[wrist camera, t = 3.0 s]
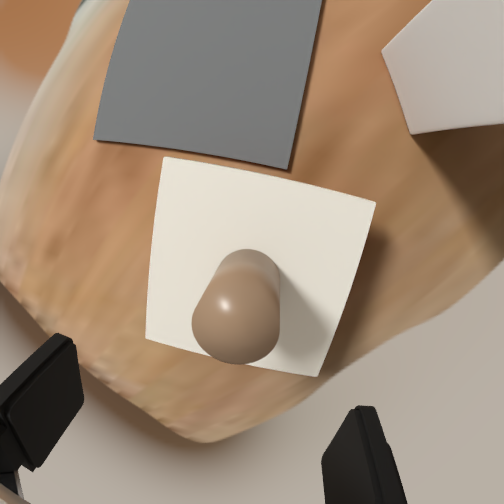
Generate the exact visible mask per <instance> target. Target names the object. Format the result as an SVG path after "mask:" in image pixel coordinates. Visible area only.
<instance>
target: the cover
mask: <svg viewBox="0 0 504 504" xmlns="http://www.w3.org/2000/svg"><path fill="white" fill-rule="evenodd" d="M375 205H376V202H374V201H371V200H367V199H364V198H360V197H357V196H353V195H349V194H345V193H342V192H338V191H334V190H330V189H326V188H322V187H318V186H314V185H310V184H306V183H302V182H297V181H293V180H289V179H284V178H280V177H275V176H271V175H266V174H261V173H257V172H252V171H247V170H242V169H237V168H231V167H226V166H221V165H215V164H210V163H204V162H198V161H192V160H186V159H180V158H173V157H164V159H163V165H162V171H161V177H160V184H159V190H158V197H157V205H156V212H155V220H154V229H153V237H152V247H151V257H150V269H149V281H148V296H147V314H146V339H150V340H153V341H156V342H160V343H163V344H167V345H170V346H174V347H177V348H181V349H185V350H188V351H192V352H196V353H200V354H204V355H208V356H212V357H213V358H215V359H217V360H220V361H222V362H225V363H230V364H247V365H252V366H257V367H262V368H267V369H272V370H277V371H283V372H289V373H294V374H301V375H307V376H313V377H317V376H318V374H319V371H320V369H321V367H322V364H323V362H324V359H325V357H326V354H327V352H328V349H329V347H330V344H331V342H332V339H333V336H334V334H335V331H336V329H337V326H338V323H339V320H340V318H341V315H342V312H343V309H344V307H345V304H346V301H347V298H348V295H349V292H350V289H351V286H352V283H353V280H354V277H355V274H356V271H357V268H358V265H359V261H360V258H361V255H362V252H363V248H364V245H365V241H366V238H367V235H368V231H369V227H370V224H371V220H372V217H373V213H374V209H375Z"/></svg>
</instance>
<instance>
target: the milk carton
mask: <svg viewBox="0 0 504 504" xmlns="http://www.w3.org/2000/svg"><path fill="white" fill-rule="evenodd" d="M382 55H383V58H384V60H385V63H386V65H387V68H388V70H389V73H390V76H391V78H392V81H393V84H394V86H395V89H396V92H397V95H398V98H399V101H400V104H401V107H402V110H403V113H404V116H405V119H406V122H407V126H408V129H409V132H410V134H412V135H414V134H421V133H427V132H434V131H441V130H449V129H457V128H466V127H475V126H485V125H496V124H504V0H432V1H431V2H430V3H429V4H428V5H427V6H426V7H425V8H424V9H423V10H422V11H420V12H419V13H418V14H417V15H416V16H415V17H414V18H413V19H412V20H411V21H410V22H409V23H408V24H407V25H406V26H405V27H404V28H403V29H402V30H401V31H400V32H399V33H398V34H397V35H396V36H395V37H394V38H393V39H392V40H391V41H390V42H389V43H388V44H387V45H386V46H385V47H384V48H383V50H382Z"/></svg>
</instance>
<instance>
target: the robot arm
mask: <svg viewBox="0 0 504 504" xmlns="http://www.w3.org/2000/svg"><path fill="white" fill-rule="evenodd" d="M83 403H84V394H83V389H82V383H81V378H80V371H79V364H78V358H77V350H76V345H75V344H73V340H72V339H71V338H69V337H67V336H64V335H62V334H59V333H56V334H54V335H53V336H52V337H51V338H49V340H47V341H46V342H45V343H44V344H43V345H42V346H41V347H40V348H38V349H37V350H36V351H35V352H34V353H33V354H32V355H31V356H30V357H29V358H28V359H27V360H26V361H24V362H23V363H22V364H21V365H20V366H19V367H18V368H17V369H16V370H15V371H14V372H13V373H12V374H11V375H10V376H9V377H8V378H7V379H6V380H5V381H4V382H3V383H2V384H1V385H0V504H30V503H29V502H27V501H26V500H24V497H23V493H22V488H21V484H20V479H19V474H18V469H19V467H20V466H21V465H23V466H24V467H26V468H27V469H29V470H30V471H32V472H33V471H34V470H35V468H36V467H37V468H39V467H41V465H42V464H43V463H44V461H45V460H46V458H47V457H48V455H49V454H50V452H51V451H52V449H53V448H54V446H55V444H56V443H57V442H58V440H59V439H60V437H61V436H62V434H63V433H64V431H65V430H66V428H67V427H68V426H69V424H70V422H71V421H72V420H73V418H74V417H75V416H76V414H77V413H78V411H79V410H80V408H81V407H82V405H83ZM321 465H322V474H323V484H324V495H325V504H407V500H406V497H405V493H404V490H403V486H402V483H401V479H400V476H399V473H398V470H397V466H396V463H395V460H394V457H393V454H392V450H391V448H390V446H389V444H388V443H387V442H386V439H385V436H384V433H383V429H382V426H381V424H380V420H379V418H378V415H377V412H376V409H375V408H374V407H373V406H356V407H355V409H351V410H350V411H349V413H348V415H347V416H346V418H345V420H344V422H343V423H342V425H341V427H340V428H339V430H338V431H337V433H336V435H335V437H334V438H333V440H332V441H331V443H330V445H329V446H328V448H327V449H326V451H325V452H324V454H323V456H322V461H321Z"/></svg>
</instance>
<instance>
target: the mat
mask: <svg viewBox="0 0 504 504" xmlns="http://www.w3.org/2000/svg"><path fill="white" fill-rule="evenodd" d="M321 2H322V0H130V2H129V4H128V7H127V10H126V13H125V15H124V18H123V21H122V24H121V27H120V30H119V33H118V36H117V39H116V42H115V46H114V49H113V52H112V56H111V59H110V63H109V67H108V71H107V74H106V78H105V82H104V87H103V91H102V95H101V100H100V105H99V110H98V115H97V120H96V125H95V131H94V137H93V140H104V141H115V142H125V143H134V144H142V145H150V146H158V147H166V148H173V149H180V150H186V151H193V152H199V153H205V154H211V155H217V156H222V157H228V158H233V159H238V160H244V161H249V162H254V163H259V164H263V165H268V166H273V167H277V168H282V169H286V170H287V168H288V163H289V158H290V154H291V149H292V145H293V140H294V135H295V131H296V126H297V121H298V116H299V112H300V107H301V102H302V97H303V92H304V88H305V83H306V78H307V73H308V68H309V63H310V58H311V53H312V48H313V43H314V38H315V33H316V28H317V23H318V18H319V13H320V7H321Z"/></svg>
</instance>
